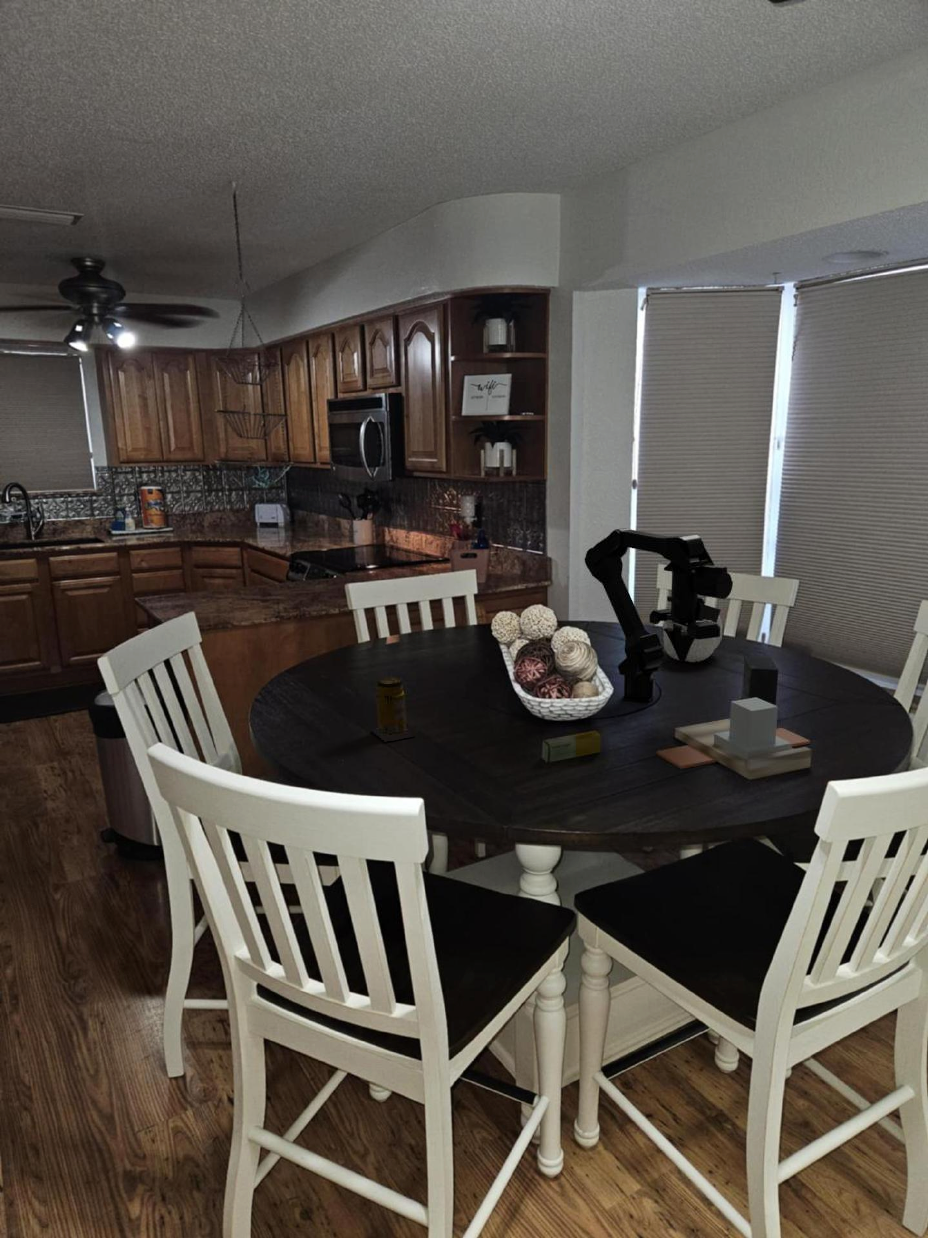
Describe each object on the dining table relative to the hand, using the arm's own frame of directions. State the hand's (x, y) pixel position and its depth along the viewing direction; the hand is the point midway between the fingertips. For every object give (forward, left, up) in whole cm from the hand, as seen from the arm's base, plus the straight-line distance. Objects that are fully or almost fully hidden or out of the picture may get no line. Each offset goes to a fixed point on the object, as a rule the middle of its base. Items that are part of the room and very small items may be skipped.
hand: (682, 660), depth 178 cm
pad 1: (+6, -27, -12) cm, 30 cm away
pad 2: (+22, -11, -12) cm, 27 cm away
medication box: (-16, -34, -12) cm, 39 cm away
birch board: (+15, -20, -12) cm, 28 cm away
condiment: (-55, -36, -12) cm, 67 cm away
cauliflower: (-4, +46, -12) cm, 48 cm away
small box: (+16, +10, -12) cm, 23 cm away
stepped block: (+17, -22, -10) cm, 30 cm away
